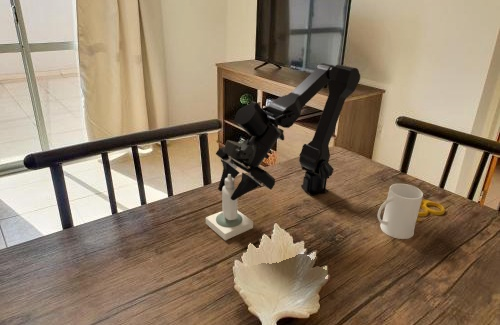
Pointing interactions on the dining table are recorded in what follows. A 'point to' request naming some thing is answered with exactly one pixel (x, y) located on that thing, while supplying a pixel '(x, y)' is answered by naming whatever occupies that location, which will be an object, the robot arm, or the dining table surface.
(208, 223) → the plinth
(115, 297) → the dining table surface
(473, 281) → the dining table surface
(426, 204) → the yellow scissors
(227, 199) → the eye dropper bottle
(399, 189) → the mug
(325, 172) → the robot arm
